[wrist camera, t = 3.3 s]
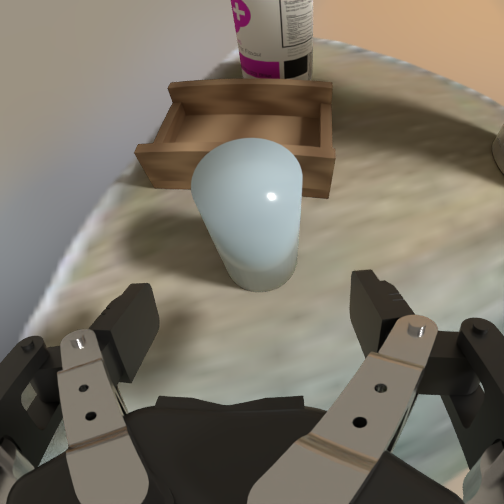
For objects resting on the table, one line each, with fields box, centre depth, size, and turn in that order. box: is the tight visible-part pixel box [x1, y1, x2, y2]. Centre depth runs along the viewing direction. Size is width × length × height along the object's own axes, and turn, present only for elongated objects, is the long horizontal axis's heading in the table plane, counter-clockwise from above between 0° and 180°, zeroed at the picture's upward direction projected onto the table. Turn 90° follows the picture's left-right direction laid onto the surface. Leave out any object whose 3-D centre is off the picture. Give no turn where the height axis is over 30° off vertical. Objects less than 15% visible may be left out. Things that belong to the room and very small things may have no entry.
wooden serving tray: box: [134, 78, 335, 199], centre depth 27 cm, size 16×10×5 cm, turn 81°
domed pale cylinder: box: [191, 138, 302, 292], centre depth 20 cm, size 6×6×10 cm
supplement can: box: [231, 0, 313, 81], centre depth 27 cm, size 8×8×15 cm
